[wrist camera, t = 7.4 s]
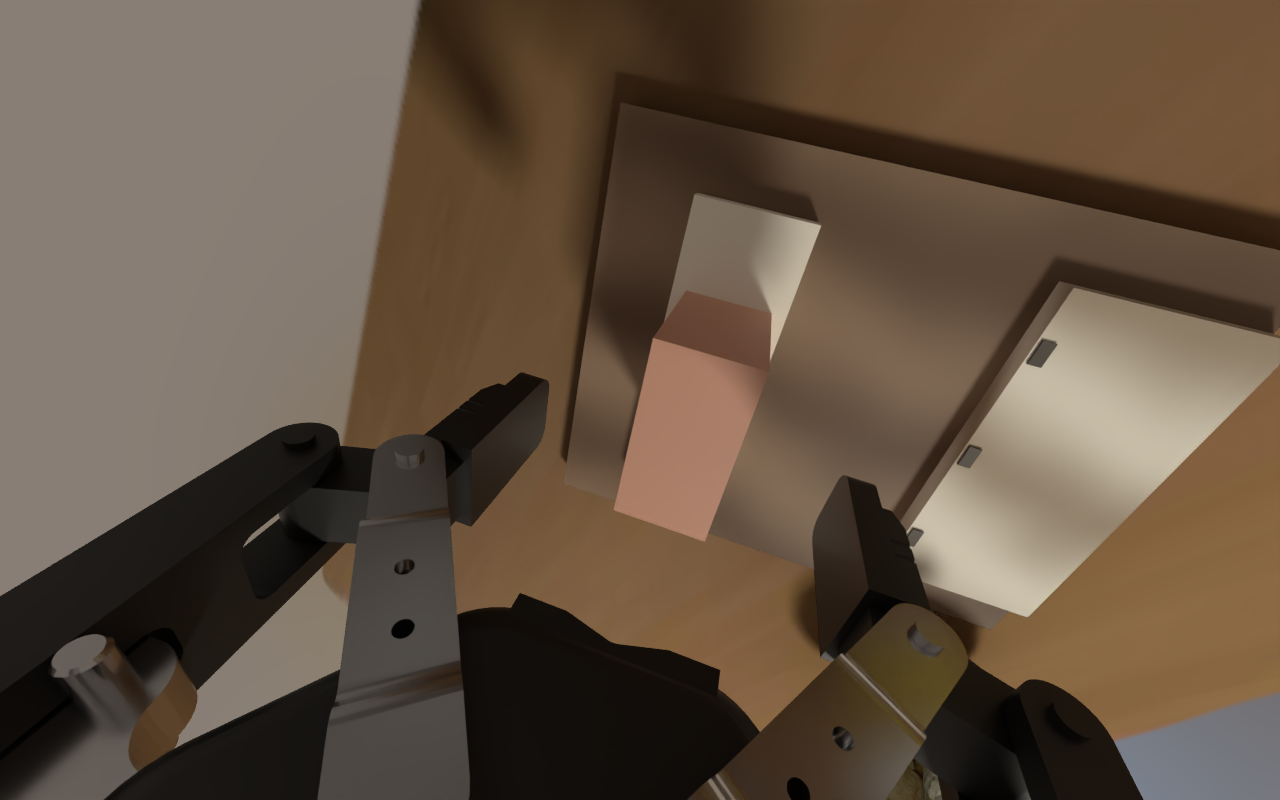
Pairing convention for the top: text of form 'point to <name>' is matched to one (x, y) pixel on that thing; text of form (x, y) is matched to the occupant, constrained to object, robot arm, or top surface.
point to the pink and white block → (711, 359)
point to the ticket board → (933, 354)
